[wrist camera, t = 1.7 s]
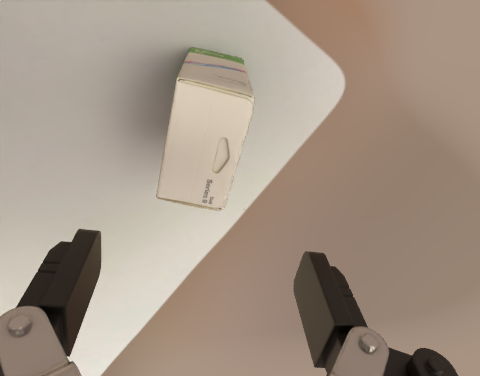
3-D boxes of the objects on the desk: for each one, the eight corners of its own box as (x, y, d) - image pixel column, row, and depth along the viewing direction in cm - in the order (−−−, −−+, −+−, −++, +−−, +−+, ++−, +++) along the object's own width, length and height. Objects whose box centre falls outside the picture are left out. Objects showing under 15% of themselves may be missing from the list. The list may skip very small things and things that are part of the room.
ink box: (223, 146, 35) (229, 215, 25) (170, 136, 34) (154, 203, 24) (245, 57, 31) (263, 97, 20) (185, 42, 30) (174, 76, 19)
